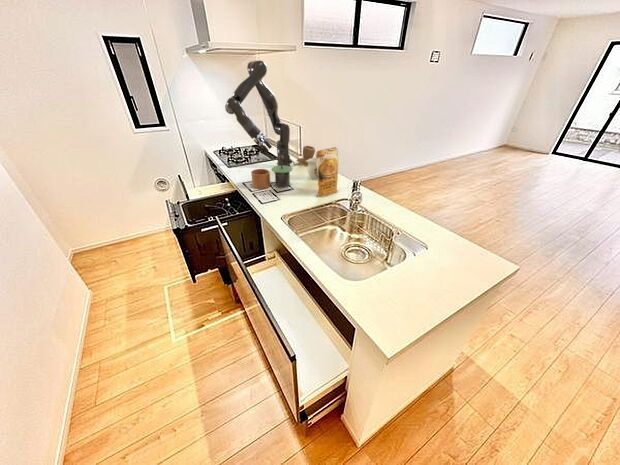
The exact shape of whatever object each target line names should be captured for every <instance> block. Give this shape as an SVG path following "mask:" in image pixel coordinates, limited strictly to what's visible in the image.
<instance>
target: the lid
mask: <svg viewBox="0 0 620 465" xmlns="http://www.w3.org/2000/svg"><path fill="white" fill-rule="evenodd" d="M279 160H280V161H281V165H280V166H278V165H276V166H272V167H271V172H274V173H275V172H276V173H287V172H292V171H293V167H292V166H291V165H290V166H284V165H283V164H282V161H283V160H284V156H283V155H280V156H279Z"/></svg>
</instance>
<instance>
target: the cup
mask: <svg viewBox="0 0 620 465" xmlns="http://www.w3.org/2000/svg"><path fill="white" fill-rule="evenodd" d="M290 172H291V171H290ZM290 172H287V173H276V172H274V181H275V182H274V183H275V186H276V187H277V188H288V187H289V186H290V185H291V174H290Z"/></svg>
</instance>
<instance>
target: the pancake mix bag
mask: <svg viewBox="0 0 620 465" xmlns="http://www.w3.org/2000/svg"><path fill="white" fill-rule="evenodd" d="M315 158H316V163H317V173H318V179H317V186H318V190H317V197H321V198H323V197H327V196H330V195H334V194H336V193H337V191H338V177H339V151H338V147H336V146H333V147H330V148H323V149H320V150H317V151H315Z"/></svg>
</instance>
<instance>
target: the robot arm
mask: <svg viewBox="0 0 620 465" xmlns="http://www.w3.org/2000/svg"><path fill="white" fill-rule="evenodd" d="M246 68H247V73H248V75H249V76H247V77H246V78H245V79H244V80H242V82H240V84H238V85H237V87H236V88H235V89H234V91H233V92H232V95H231V97H229V98H228V99H227V100H226V103H225V105H224V109H225V112H226V113H227V114H229V115H234V116H235V117H236V118H235V119H236V122H237V123H238V124H239V125H240V126H241V127H242V129H243V130H244V131H245V132H246V134H247V135H248V136H249V137H250V138H251V139H253V142H254V143H255V144H256V145H257V147H258V148H259V149H262V150H263V151H264V152H265V153H268V152H269V150H271V149H272V147H273V146H272V145H271V144H270V142H269V139H268V138H267V137H266V135H265V134H264V133H263V132H262V131H261V130H262V129H260V127H259V126H258V125H257V124H256V123H255V122H254V121H253V120H252V119H251V118H250V116H249V115H248V114H247V113H246V111H245V109H244V108H243V106H242V103H243V102H244V101H245V100H246V98H247V96H248V95H249V94H250V92H251V91H252V90H253V89H254V87H255V88H256V90H257V94H258V95H259V97H260V100H261V102H262V104H263V106H264V108H265V110H266V113H267V116H268V118H269V120H270V122H271V126H272V129H273V132H274V133H275V134H276V136H279V139H278V140H277V141H276V157H277V162H276V165H277V166H280V165H281V161H280V160H279V156H280V155H283V156H284V160H283V161H282V164H283V165H284V166H290V167H291V164H293V165H294V166H298V165H301V164H300V163H299V162H298V163H297V164H296V163H295V161H293V160H292V159H291V155H290V149H289V148H290V144H289V143H290V140H291V137H290V136H291V129H290V125H289V124H288V123H284V122H282V121H281V119H280V116H279V105H278V104H279V103H278V102H277V101H278V100H277V99H276V96H275V94H274V93H273V91H272V90H271V89H270V88H269V87H268V86H267V85H266V83H265V81H264V80H263V78H264V77H265V76H266V75H267V72H268V66H267V64H266V63H265V62H264V61H263V60H259V59H258V60H252V61H249V62H248V63H247V66H246ZM261 132H262V133H261Z"/></svg>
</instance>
